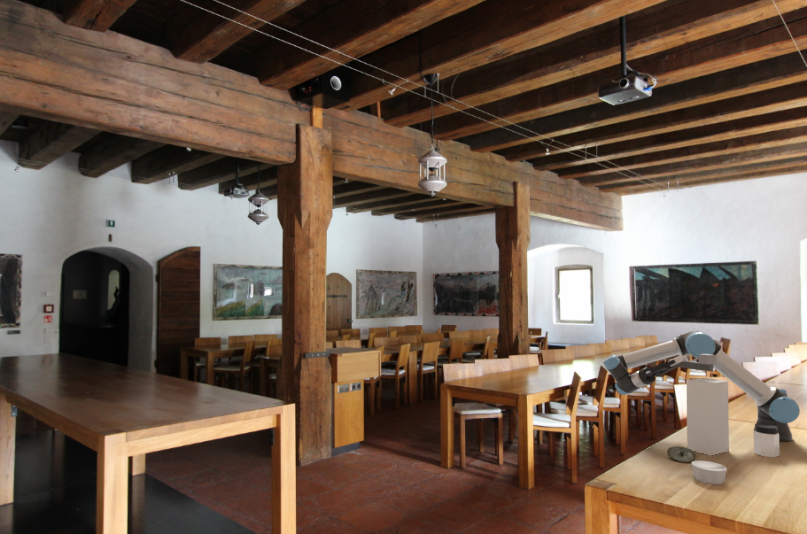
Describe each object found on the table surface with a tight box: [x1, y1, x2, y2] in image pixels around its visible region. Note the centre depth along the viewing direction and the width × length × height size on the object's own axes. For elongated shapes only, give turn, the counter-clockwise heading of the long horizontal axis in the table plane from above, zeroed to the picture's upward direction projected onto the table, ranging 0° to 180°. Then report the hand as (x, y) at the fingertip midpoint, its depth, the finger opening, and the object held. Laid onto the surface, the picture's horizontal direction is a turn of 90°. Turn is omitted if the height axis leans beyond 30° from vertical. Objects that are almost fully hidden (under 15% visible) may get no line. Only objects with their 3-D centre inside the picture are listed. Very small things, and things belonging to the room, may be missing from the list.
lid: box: [666, 445, 697, 464], centre depth 215 cm, size 11×10×5 cm
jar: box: [753, 423, 780, 458], centre depth 223 cm, size 9×8×12 cm
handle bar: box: [667, 354, 715, 372], centre depth 235 cm, size 5×19×7 cm, turn 30°
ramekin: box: [690, 460, 728, 485], centre depth 191 cm, size 11×11×5 cm
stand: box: [686, 377, 730, 456], centre depth 228 cm, size 14×10×30 cm
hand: (683, 358), depth 238 cm, fingers closed on handle bar, 3 cm apart
